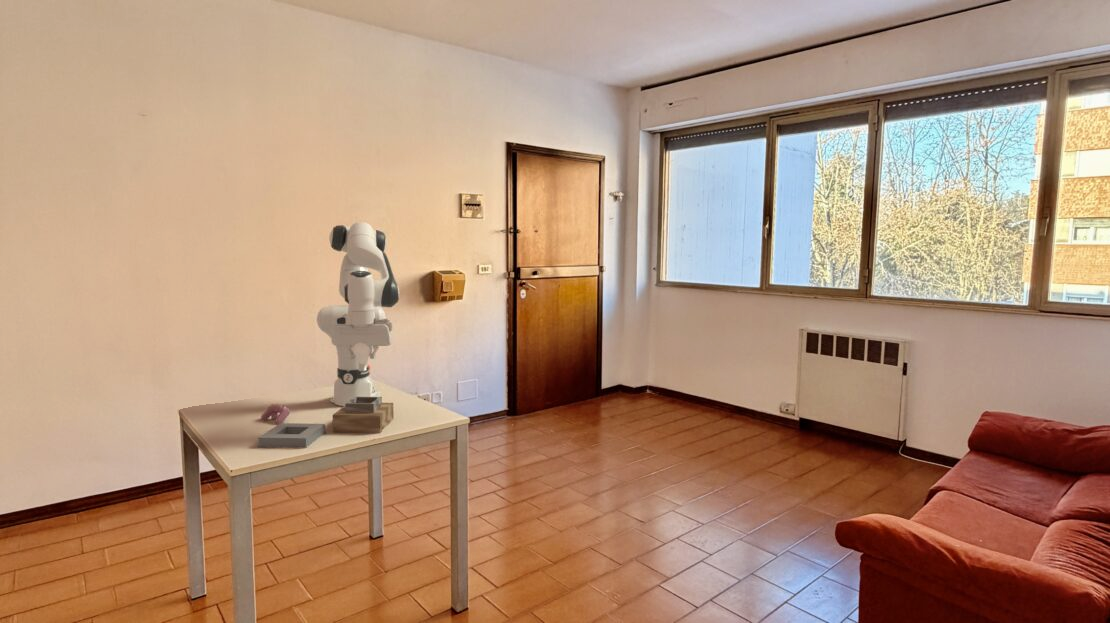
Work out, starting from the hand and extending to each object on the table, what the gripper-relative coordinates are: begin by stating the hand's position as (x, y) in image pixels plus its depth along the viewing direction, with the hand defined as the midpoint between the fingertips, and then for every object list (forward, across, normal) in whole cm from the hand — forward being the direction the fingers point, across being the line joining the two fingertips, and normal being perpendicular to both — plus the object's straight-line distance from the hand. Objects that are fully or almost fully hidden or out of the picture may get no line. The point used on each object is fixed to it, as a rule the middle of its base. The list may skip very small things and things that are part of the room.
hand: (362, 358), depth 207 cm
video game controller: (+24, +33, -4) cm, 41 cm away
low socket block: (+24, +18, +16) cm, 34 cm away
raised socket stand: (+24, 0, 0) cm, 24 cm away
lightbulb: (+5, 0, 0) cm, 5 cm away
